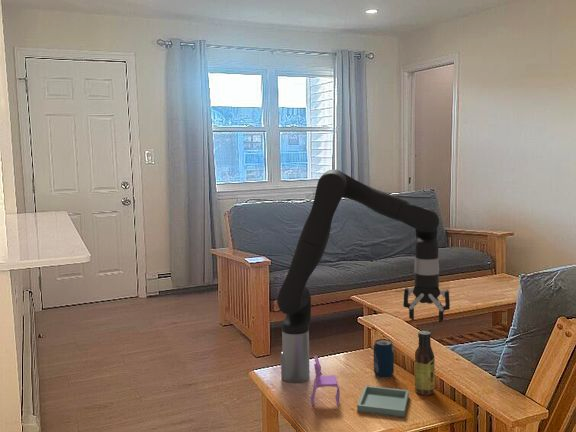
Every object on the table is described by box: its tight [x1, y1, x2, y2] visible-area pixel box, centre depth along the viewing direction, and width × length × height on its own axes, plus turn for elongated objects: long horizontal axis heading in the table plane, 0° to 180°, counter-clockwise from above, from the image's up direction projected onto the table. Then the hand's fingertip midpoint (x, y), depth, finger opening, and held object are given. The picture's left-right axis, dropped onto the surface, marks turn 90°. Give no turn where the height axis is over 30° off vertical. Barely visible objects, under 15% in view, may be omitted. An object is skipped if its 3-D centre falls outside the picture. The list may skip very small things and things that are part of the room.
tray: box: [356, 385, 410, 419], centre depth 169 cm, size 14×14×2 cm
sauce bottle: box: [414, 330, 436, 396], centre depth 176 cm, size 6×6×20 cm
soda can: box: [373, 338, 395, 379], centre depth 190 cm, size 7×7×12 cm
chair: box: [310, 355, 341, 408], centre depth 171 cm, size 8×9×15 cm
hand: (426, 320), depth 174 cm, fingers open, 8 cm apart
